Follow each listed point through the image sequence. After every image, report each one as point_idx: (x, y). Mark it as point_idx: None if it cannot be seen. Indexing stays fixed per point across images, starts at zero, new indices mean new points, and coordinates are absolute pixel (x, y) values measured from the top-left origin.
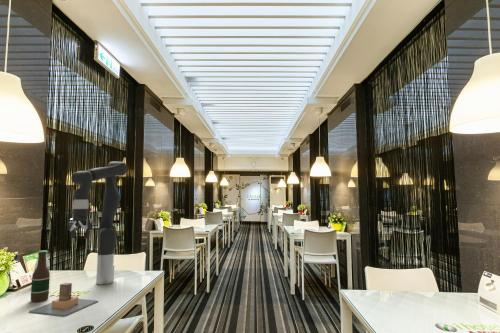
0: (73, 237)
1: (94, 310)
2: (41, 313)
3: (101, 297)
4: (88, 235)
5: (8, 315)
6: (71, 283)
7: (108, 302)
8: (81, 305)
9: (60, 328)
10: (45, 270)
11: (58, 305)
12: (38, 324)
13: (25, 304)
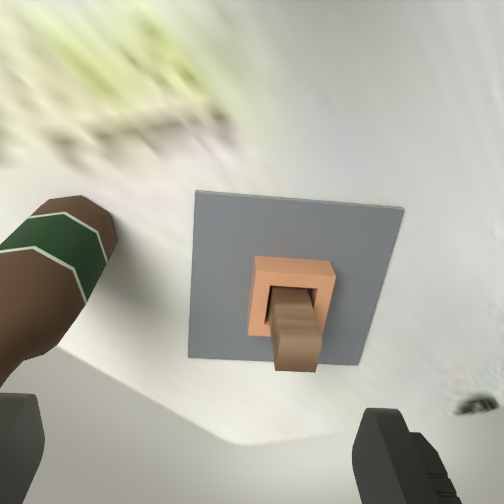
0: (36, 433)
1: (436, 299)
2: (250, 357)
3: (385, 137)
4: (442, 479)
5: (142, 383)
6: (321, 342)
7: (458, 205)
8: (359, 278)
9: None
10: (51, 331)
11: None
12: (314, 416)
13: None
